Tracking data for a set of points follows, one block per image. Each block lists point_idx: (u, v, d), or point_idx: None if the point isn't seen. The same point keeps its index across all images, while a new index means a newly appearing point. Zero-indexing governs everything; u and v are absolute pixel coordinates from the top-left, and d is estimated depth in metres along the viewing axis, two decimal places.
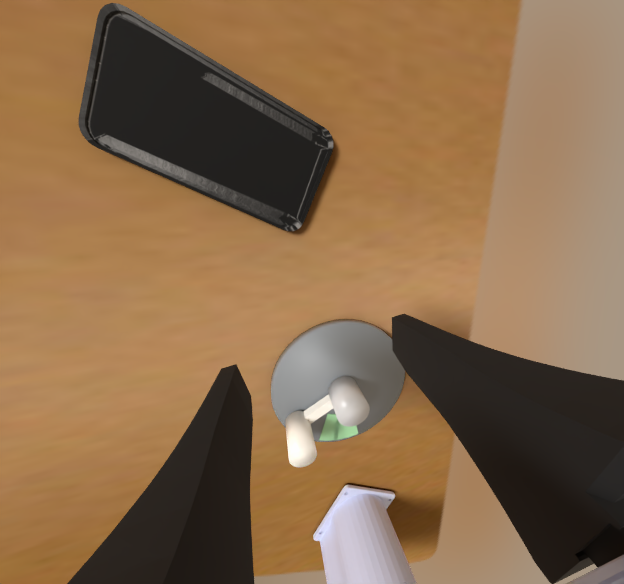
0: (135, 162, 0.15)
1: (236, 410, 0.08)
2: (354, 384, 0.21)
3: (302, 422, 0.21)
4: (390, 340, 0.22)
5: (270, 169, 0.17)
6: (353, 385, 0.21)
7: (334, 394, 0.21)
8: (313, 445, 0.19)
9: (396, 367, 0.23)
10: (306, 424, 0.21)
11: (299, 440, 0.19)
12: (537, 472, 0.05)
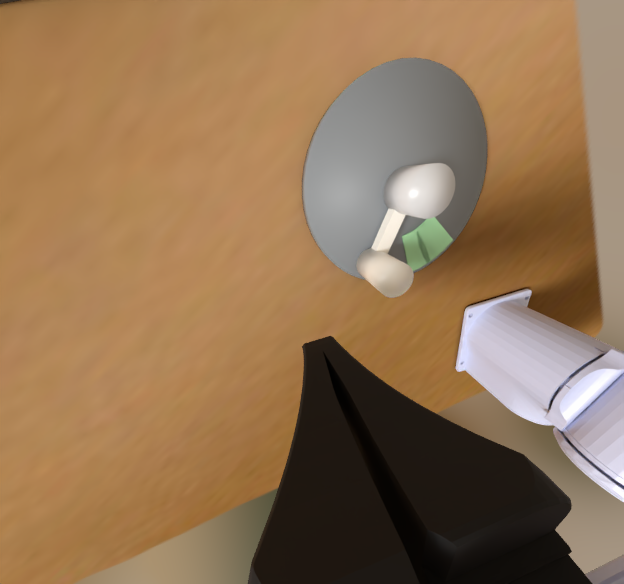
0: None
1: None
2: (414, 165, 0.14)
3: (375, 254, 0.16)
4: (435, 66, 0.13)
5: None
6: (413, 166, 0.14)
7: (394, 194, 0.14)
8: (402, 262, 0.14)
9: (464, 111, 0.15)
10: (381, 253, 0.16)
11: (381, 267, 0.14)
12: (400, 531, 0.05)
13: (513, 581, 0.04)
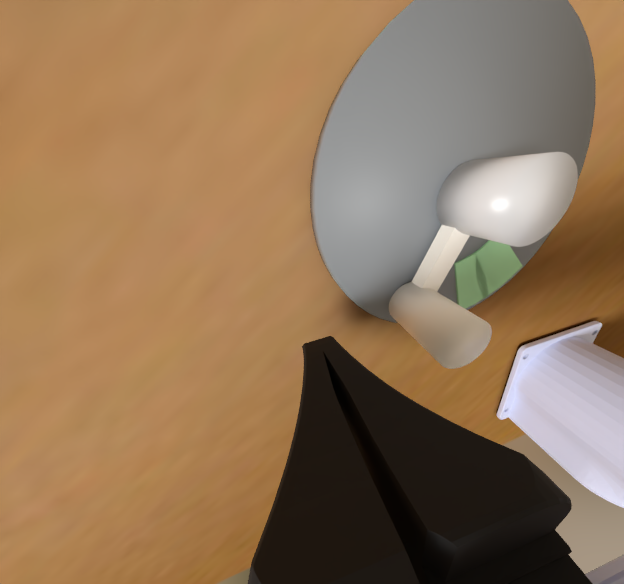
0: None
1: None
2: None
3: (423, 296, 0.10)
4: None
5: None
6: (495, 158, 0.09)
7: (462, 204, 0.09)
8: (476, 316, 0.09)
9: (570, 71, 0.09)
10: (432, 294, 0.10)
11: (441, 323, 0.09)
12: (400, 530, 0.05)
13: (513, 581, 0.04)
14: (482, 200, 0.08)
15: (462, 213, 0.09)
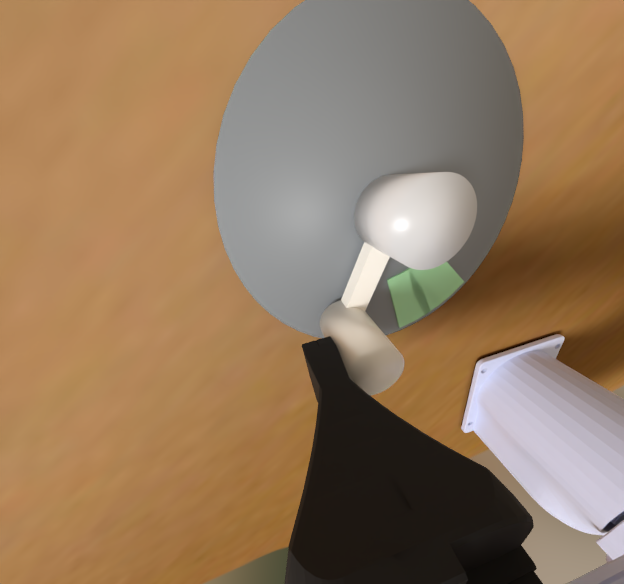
0: None
1: None
2: (402, 174, 0.08)
3: (344, 317, 0.10)
4: None
5: None
6: (399, 175, 0.08)
7: (369, 224, 0.08)
8: (383, 343, 0.08)
9: (489, 81, 0.09)
10: (353, 316, 0.10)
11: (349, 350, 0.08)
12: None
13: None
14: (380, 222, 0.08)
15: (370, 233, 0.08)
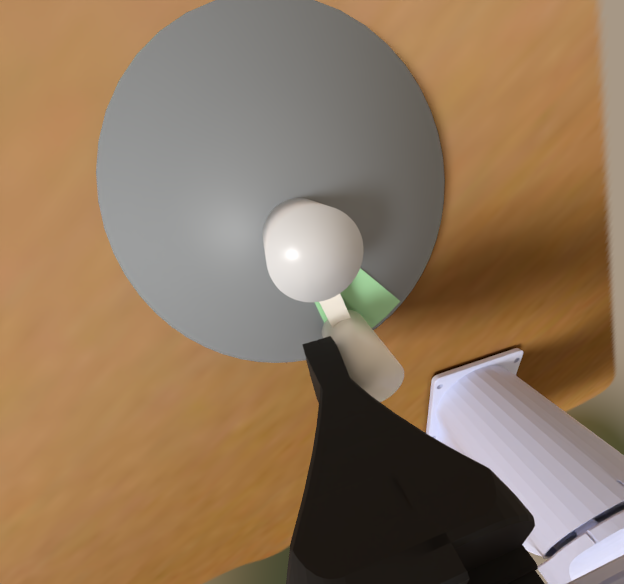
0: None
1: None
2: (271, 217, 0.08)
3: None
4: (325, 14, 0.07)
5: None
6: (268, 224, 0.08)
7: None
8: (362, 361, 0.08)
9: (395, 101, 0.08)
10: (338, 335, 0.10)
11: None
12: None
13: None
14: None
15: None
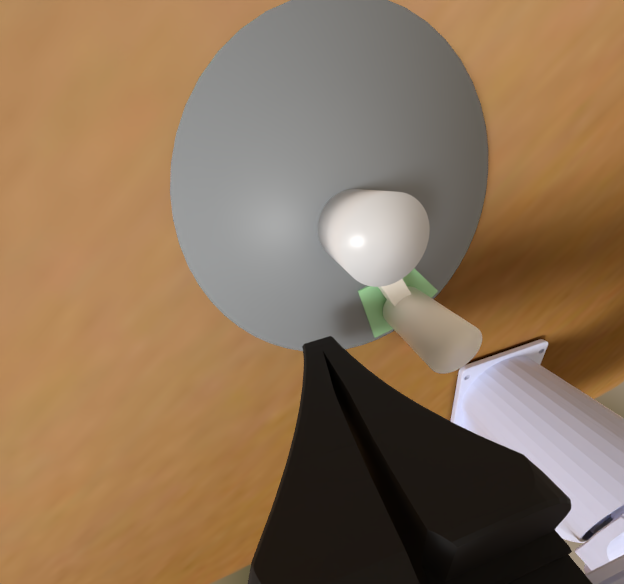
0: None
1: None
2: (329, 214, 0.08)
3: (398, 318, 0.11)
4: (391, 11, 0.07)
5: None
6: (328, 222, 0.08)
7: None
8: (440, 332, 0.09)
9: (448, 95, 0.09)
10: (404, 313, 0.11)
11: (420, 352, 0.09)
12: (400, 530, 0.05)
13: (513, 581, 0.04)
14: None
15: None
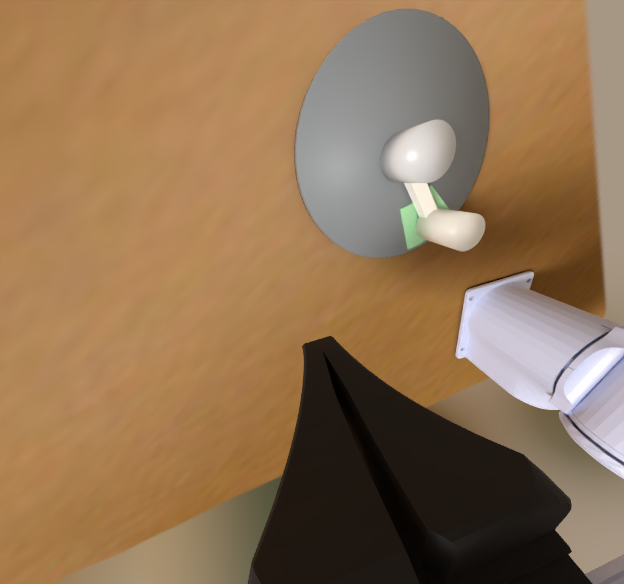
0: None
1: None
2: (393, 142, 0.14)
3: (429, 223, 0.16)
4: (434, 19, 0.13)
5: None
6: (392, 147, 0.14)
7: (400, 179, 0.14)
8: (459, 218, 0.14)
9: (465, 71, 0.14)
10: (433, 218, 0.16)
11: (445, 236, 0.15)
12: (400, 530, 0.05)
13: (513, 581, 0.04)
14: (405, 177, 0.14)
15: (404, 182, 0.14)
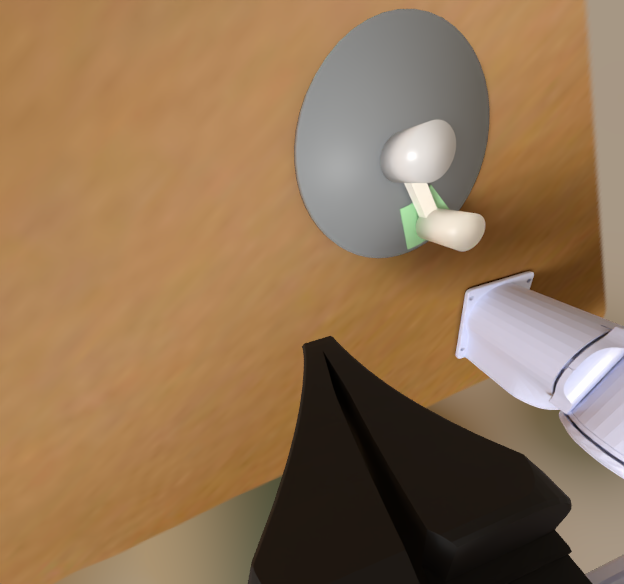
0: None
1: None
2: (393, 142, 0.14)
3: (429, 223, 0.16)
4: (434, 19, 0.13)
5: None
6: (392, 147, 0.14)
7: (400, 179, 0.14)
8: (459, 218, 0.14)
9: (465, 71, 0.14)
10: (433, 218, 0.16)
11: (445, 236, 0.15)
12: (400, 530, 0.05)
13: (513, 581, 0.04)
14: (405, 177, 0.14)
15: (404, 182, 0.14)
